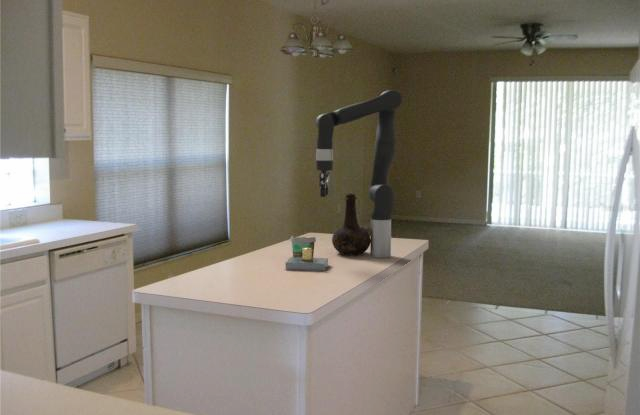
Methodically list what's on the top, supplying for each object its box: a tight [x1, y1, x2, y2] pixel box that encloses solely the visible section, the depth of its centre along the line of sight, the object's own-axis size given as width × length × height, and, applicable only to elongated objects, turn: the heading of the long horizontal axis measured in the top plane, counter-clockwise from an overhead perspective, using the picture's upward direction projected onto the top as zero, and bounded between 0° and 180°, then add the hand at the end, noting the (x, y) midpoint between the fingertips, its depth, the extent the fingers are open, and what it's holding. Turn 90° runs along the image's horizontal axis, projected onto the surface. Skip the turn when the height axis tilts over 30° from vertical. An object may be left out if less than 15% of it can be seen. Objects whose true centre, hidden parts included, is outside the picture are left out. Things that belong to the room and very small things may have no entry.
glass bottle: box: [331, 193, 371, 256], centre depth 297 cm, size 18×18×28 cm
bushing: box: [302, 248, 312, 261], centre depth 266 cm, size 4×4×8 cm
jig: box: [285, 256, 329, 272], centre depth 266 cm, size 16×12×3 cm
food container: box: [289, 234, 317, 258], centre depth 284 cm, size 12×6×10 cm, turn 62°
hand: (324, 195), depth 284 cm, fingers open, 8 cm apart
